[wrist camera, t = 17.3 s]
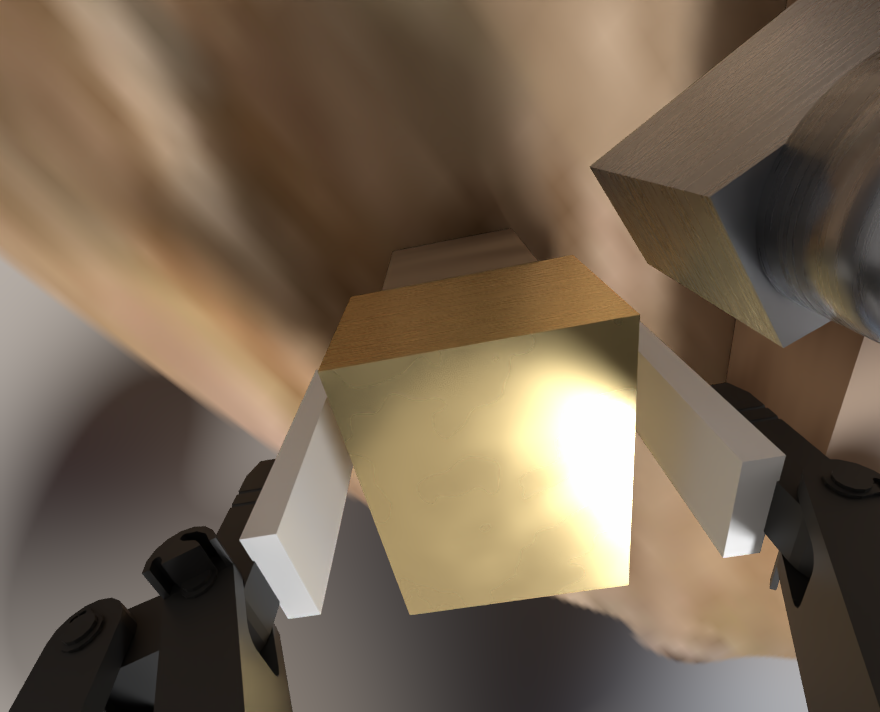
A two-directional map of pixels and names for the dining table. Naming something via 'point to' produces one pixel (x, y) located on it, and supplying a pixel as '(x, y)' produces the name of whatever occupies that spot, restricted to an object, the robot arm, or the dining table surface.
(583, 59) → the dining table surface
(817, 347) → the body
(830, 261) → the lever
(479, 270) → the block
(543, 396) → the gold metallic block
